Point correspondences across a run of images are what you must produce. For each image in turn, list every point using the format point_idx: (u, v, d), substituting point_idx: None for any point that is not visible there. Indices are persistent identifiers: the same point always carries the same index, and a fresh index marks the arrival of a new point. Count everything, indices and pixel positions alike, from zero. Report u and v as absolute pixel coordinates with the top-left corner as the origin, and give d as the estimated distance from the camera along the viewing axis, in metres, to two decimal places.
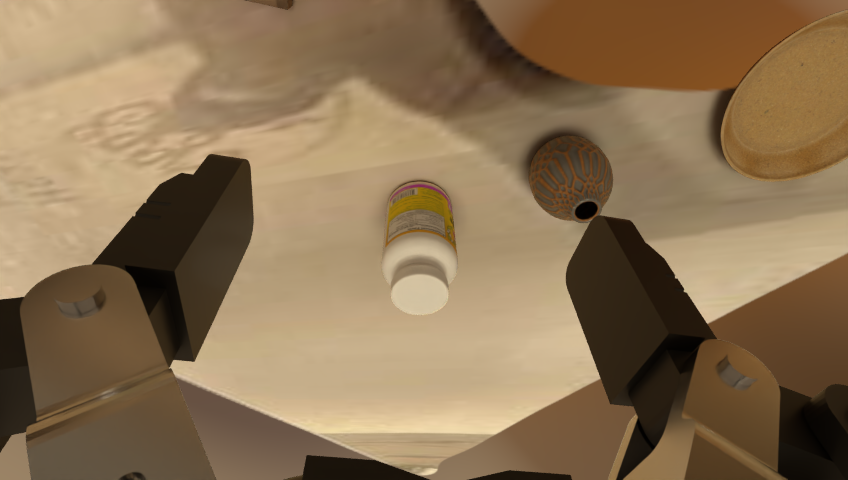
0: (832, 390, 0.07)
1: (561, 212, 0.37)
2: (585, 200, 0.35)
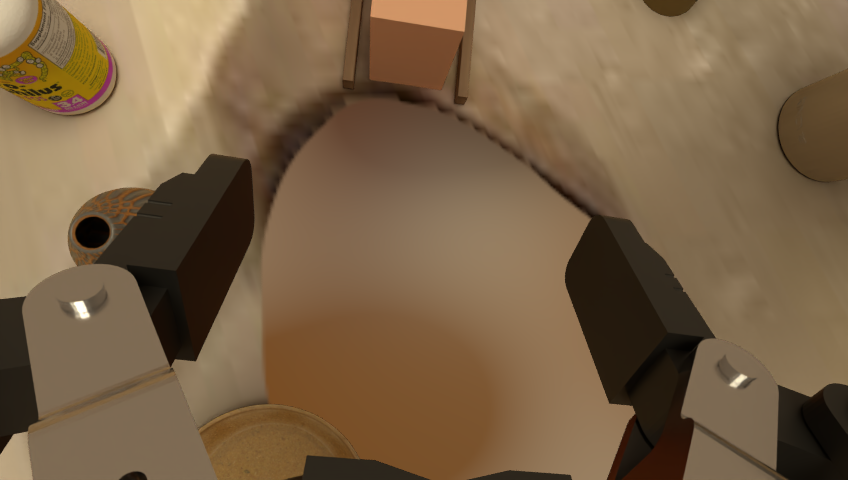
0: (831, 389, 0.07)
1: (85, 210, 0.26)
2: (111, 224, 0.25)
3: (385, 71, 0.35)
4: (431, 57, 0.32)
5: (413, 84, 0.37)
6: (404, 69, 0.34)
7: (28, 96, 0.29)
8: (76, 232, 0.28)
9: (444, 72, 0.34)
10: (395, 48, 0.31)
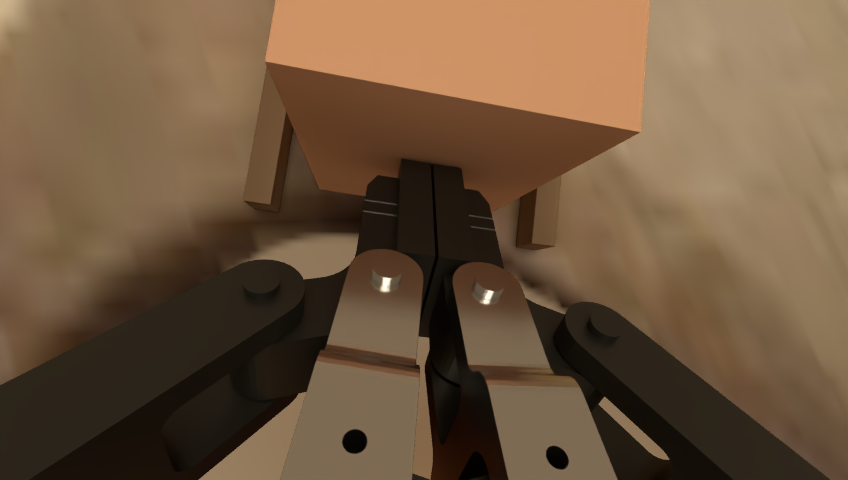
0: (570, 318, 0.07)
1: None
2: None
3: (354, 183, 0.14)
4: (483, 173, 0.11)
5: None
6: None
7: None
8: None
9: (507, 197, 0.13)
10: (375, 150, 0.10)
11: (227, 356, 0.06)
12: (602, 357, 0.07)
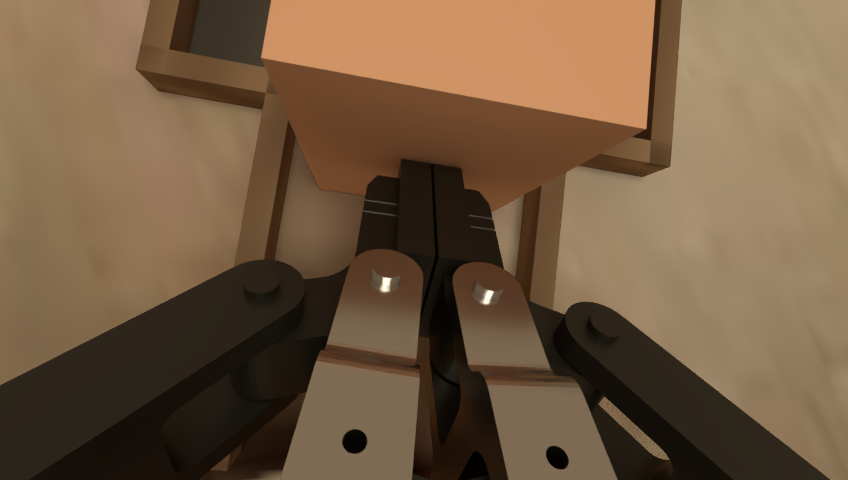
0: (569, 318, 0.07)
1: None
2: None
3: (353, 182, 0.14)
4: (484, 171, 0.11)
5: None
6: None
7: None
8: None
9: (509, 196, 0.13)
10: (375, 148, 0.10)
11: (227, 356, 0.06)
12: (602, 357, 0.07)
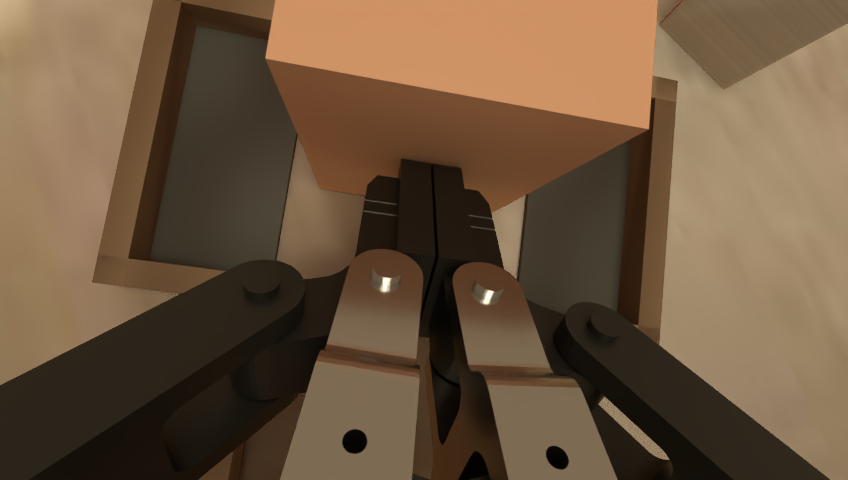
0: (569, 318, 0.07)
1: None
2: None
3: (355, 182, 0.14)
4: (486, 172, 0.11)
5: None
6: None
7: None
8: None
9: (511, 196, 0.13)
10: (378, 148, 0.10)
11: (227, 356, 0.06)
12: (602, 357, 0.07)
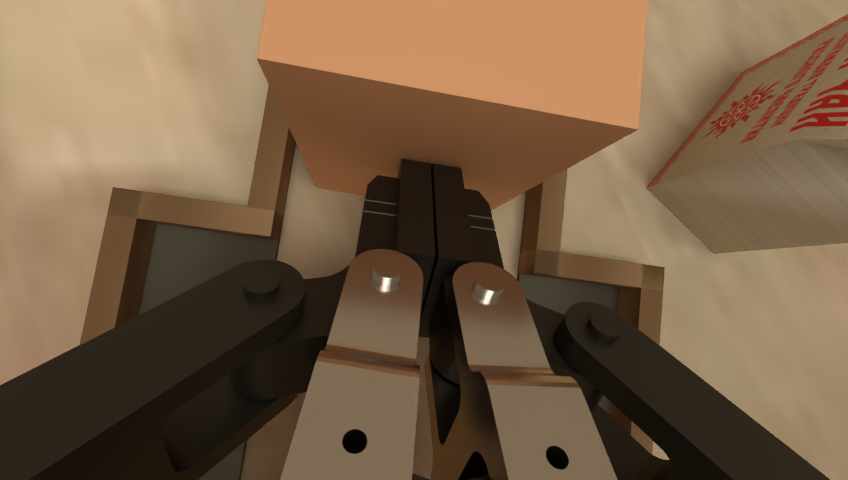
0: (570, 318, 0.07)
1: None
2: None
3: (351, 181, 0.14)
4: (480, 171, 0.11)
5: None
6: None
7: None
8: None
9: (506, 195, 0.13)
10: (372, 148, 0.10)
11: (227, 356, 0.06)
12: (602, 357, 0.07)
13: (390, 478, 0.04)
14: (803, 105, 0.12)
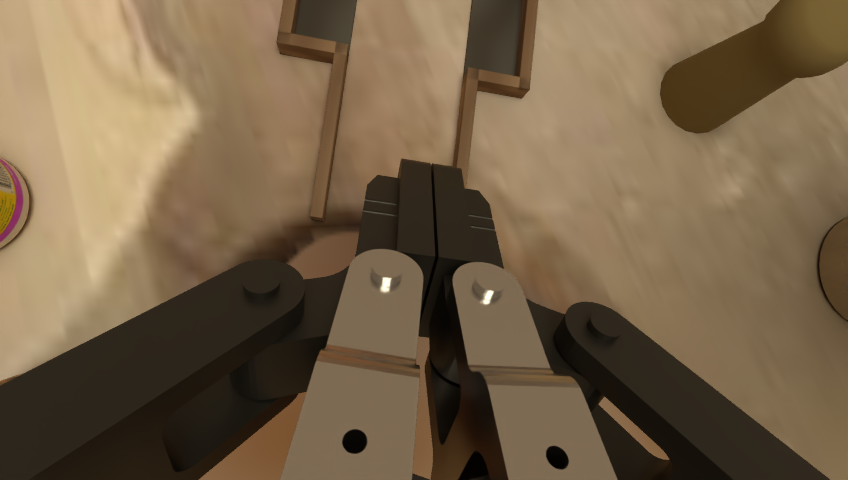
0: (569, 318, 0.07)
1: None
2: None
3: None
4: None
5: None
6: None
7: None
8: None
9: None
10: None
11: (227, 356, 0.06)
12: (602, 357, 0.07)
13: (390, 478, 0.04)
14: None
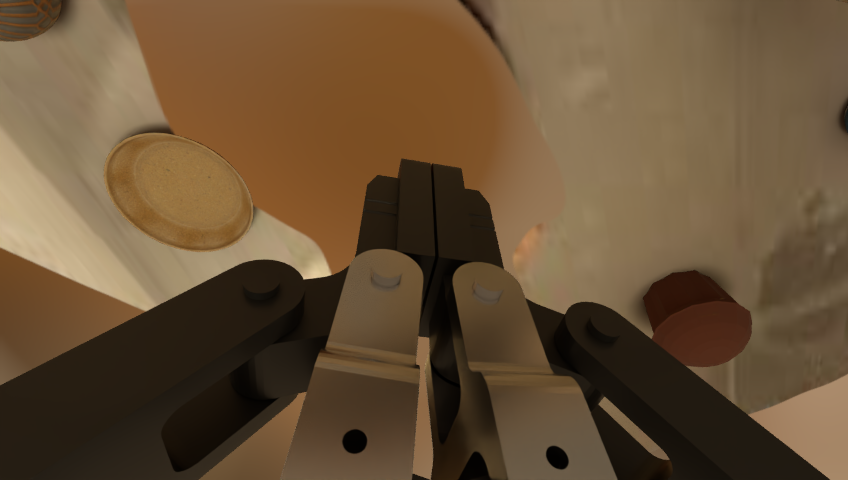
0: (569, 318, 0.07)
1: None
2: None
3: None
4: None
5: None
6: None
7: None
8: None
9: None
10: None
11: (227, 356, 0.06)
12: (602, 357, 0.07)
13: (390, 478, 0.04)
14: None
